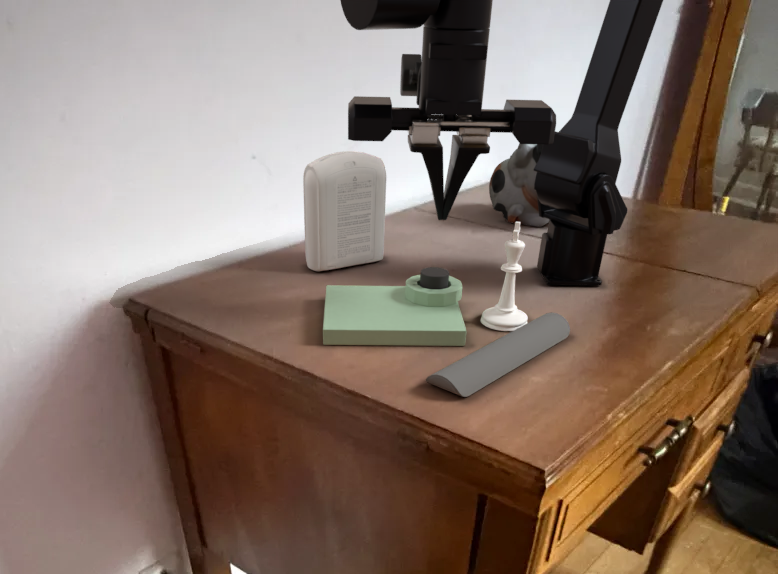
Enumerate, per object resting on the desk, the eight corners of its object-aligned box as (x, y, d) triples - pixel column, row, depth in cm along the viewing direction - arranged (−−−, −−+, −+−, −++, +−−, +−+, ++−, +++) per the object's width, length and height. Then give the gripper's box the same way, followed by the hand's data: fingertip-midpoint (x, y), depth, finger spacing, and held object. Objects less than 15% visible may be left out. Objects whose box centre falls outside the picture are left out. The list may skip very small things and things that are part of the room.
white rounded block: (370, 252, 93) (372, 144, 85) (389, 261, 90) (392, 151, 82) (300, 265, 88) (295, 153, 80) (318, 275, 85) (314, 160, 78)
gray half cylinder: (572, 335, 73) (575, 318, 72) (459, 402, 62) (461, 384, 61) (536, 324, 75) (539, 307, 74) (420, 386, 64) (422, 368, 63)
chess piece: (530, 316, 77) (547, 218, 71) (523, 334, 73) (539, 232, 67) (485, 310, 78) (497, 212, 72) (476, 327, 75) (487, 226, 68)
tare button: (446, 281, 77) (447, 267, 76) (449, 291, 75) (450, 276, 74) (418, 281, 77) (419, 266, 76) (420, 291, 75) (421, 276, 74)
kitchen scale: (455, 300, 80) (458, 273, 78) (469, 346, 71) (472, 316, 69) (326, 299, 80) (326, 272, 78) (323, 345, 70) (322, 315, 69)
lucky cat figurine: (578, 205, 111) (628, 124, 99) (571, 259, 106) (622, 180, 94) (488, 171, 110) (528, 83, 97) (477, 224, 104) (516, 138, 92)
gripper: (544, 23, 68) (520, 199, 78) (348, 18, 68) (348, 196, 78) (572, 33, 60) (540, 229, 70) (347, 27, 59) (348, 226, 69)
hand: (441, 219), depth 72 cm, fingers closed
